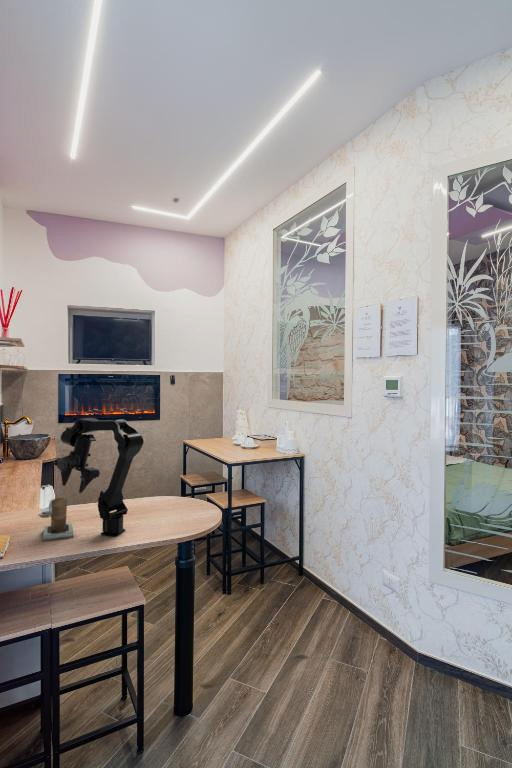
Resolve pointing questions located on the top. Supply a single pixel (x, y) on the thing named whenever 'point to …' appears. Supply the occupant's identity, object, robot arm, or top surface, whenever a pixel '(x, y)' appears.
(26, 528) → the top surface
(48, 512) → the pacifier
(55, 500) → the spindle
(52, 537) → the green square tray
